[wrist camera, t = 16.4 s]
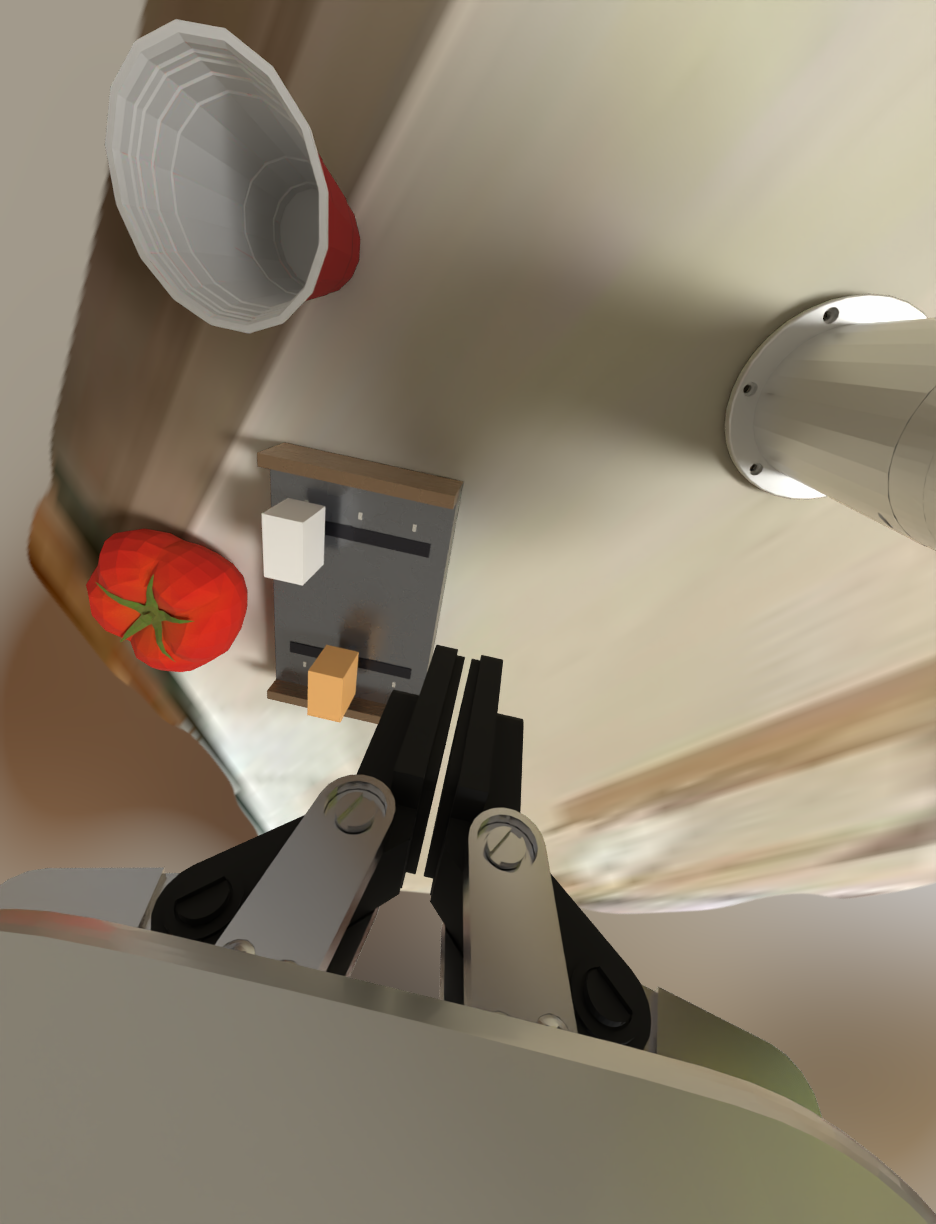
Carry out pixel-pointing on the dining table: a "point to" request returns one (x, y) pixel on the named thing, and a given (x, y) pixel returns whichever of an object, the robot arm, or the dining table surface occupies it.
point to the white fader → (293, 540)
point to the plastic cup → (224, 180)
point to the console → (363, 573)
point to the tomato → (167, 598)
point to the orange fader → (332, 683)
